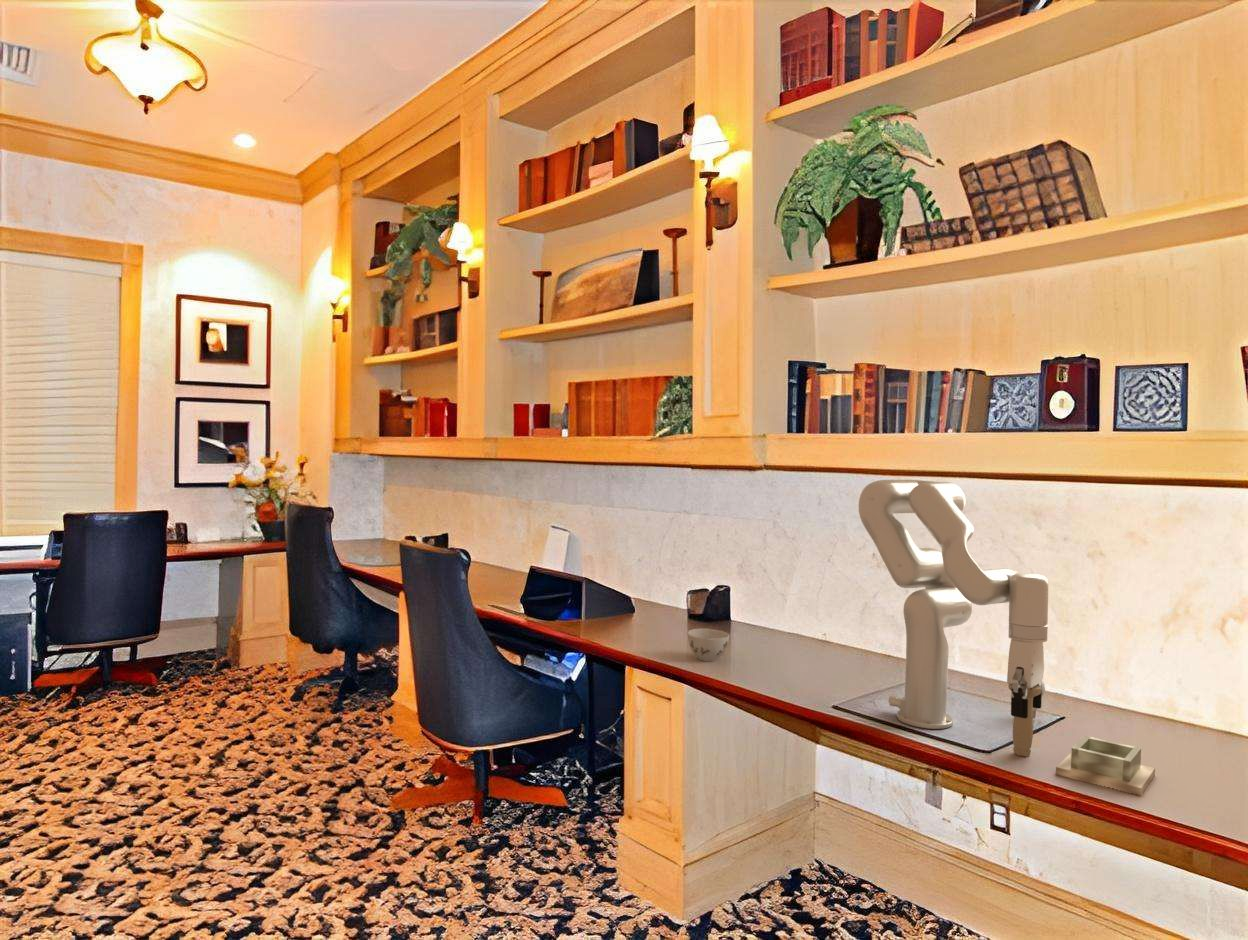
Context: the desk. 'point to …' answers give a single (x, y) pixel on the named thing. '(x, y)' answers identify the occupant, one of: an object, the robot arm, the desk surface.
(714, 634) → the teacup
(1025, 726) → the handle
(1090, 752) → the socket block
